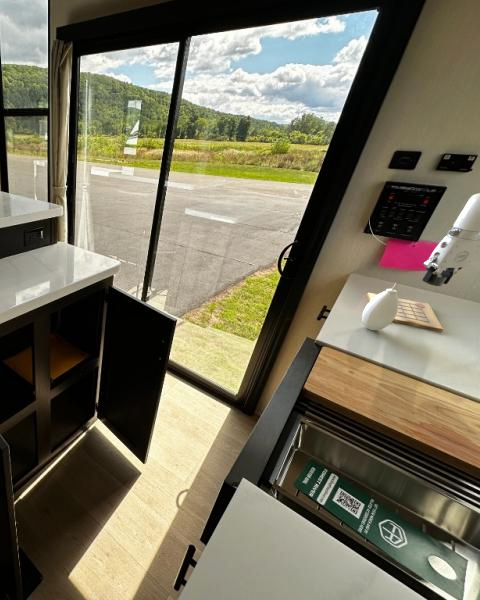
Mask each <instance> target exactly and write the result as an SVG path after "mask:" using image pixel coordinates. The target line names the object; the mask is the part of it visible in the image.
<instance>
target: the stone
mask: <svg viewBox="0 0 480 600" xmlns="http://www.w3.org/2000/svg"><path fill="white" fill-rule="evenodd" d="M437 274H438V276H437V277H436V279H435V280H434V282H433V283H432V284H429V285H430V286H434V287H442V286H443V285H444V284H443V283H444V282H445V280H446V279H447V277H448V276H447V275H445V274H442V272H438V273H437Z"/></svg>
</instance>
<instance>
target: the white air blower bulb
mask: <svg viewBox="0 0 480 600" xmlns="http://www.w3.org/2000/svg"><path fill="white" fill-rule="evenodd" d="M396 286H397V282H395V283H394V285H393V286H392V288H386V290H384V291H381V292H380V293H378V295H377V296H375V297H374V298H373V299H372V300H371V301H370V302H369V301H368V302H367V304H366V306H365V307H364V309H363V310H362V313H361V314H362V315H361V320H362V324H363V326H364V327H365V328H366V329H368V330H370V331H380V330H383V329H386V328H387V327H389V326H390V325H391V324H392V323H393V322H392V321H393V320H394V318H395V316H396V314H397V311H398V298H399V297H398V295H397V294H398V291H397V290H396V289H395V288H396Z"/></svg>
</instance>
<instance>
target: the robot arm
mask: <svg viewBox="0 0 480 600" xmlns="http://www.w3.org/2000/svg"><path fill="white" fill-rule="evenodd" d="M479 250H480V192H479V193H475V194H472V195H471V196H470V197H469V198H468V201H467V202H466V203H465V205H464V207H463V208H462V209H461V212H460V213H459V215H458V216H457V218H456V220H455V221H454V223H453V225H452V226H451V228H450V230H448V232H447V235H445V236H444V237H443V238H442V240H440V241H439V243H438V244H437V245H436V247H435V248H434V249H433V251H432V253H431V254H430V256H429V257H428V259H427V260H426V261H424V262H423V263H422V264H423V266H424V267H425V268H426V273H425V274H424V276H423V278H422V280H421V281H422V282H424V283H425V284H427V285H430V284H432V283H433V282H434V280H435V279H436V277H437V276H438V274H437V273H440V271H441V270H442V269H443V270H442V271H441V273H442V274H445V275H447V276H448V277H447V279H446V280H445V282H444V283H443V285H447V284H448V283H449V282H450V281H451V279H452V278H453V276H454V275H455V274H457V273H458V271H460V270H462V269H463V268H467V267H469V266H470V265H471V263H472V262H473V260H474V259H475V257H476V255H477V254H478V252H479Z"/></svg>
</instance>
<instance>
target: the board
mask: <svg viewBox="0 0 480 600" xmlns="http://www.w3.org/2000/svg"><path fill="white" fill-rule="evenodd" d="M378 294H379V293H378ZM378 294H377V293H373V292H367V293H366V298H367V301H368V303H369V302H370V301H371V300H372V299H373V298H374V297H375V296H377V295H378ZM391 323H396V324H403V325H407V326H412V327H415V328H421V329H425V330H430V331H435V332H439V333H442V332H443V331H444V328H443V326H442V324H441V322H440V321H439V319H438V318H437V315H436V314H435V312H434V310H433V309H432V307H431V305H430V304H429V303H426V302H420V301H415V300H411V299H405V298H404V299H403V298H399V297H398V311H397V314H396V316H395V318H394V320H393V321H392V322H391Z"/></svg>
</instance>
